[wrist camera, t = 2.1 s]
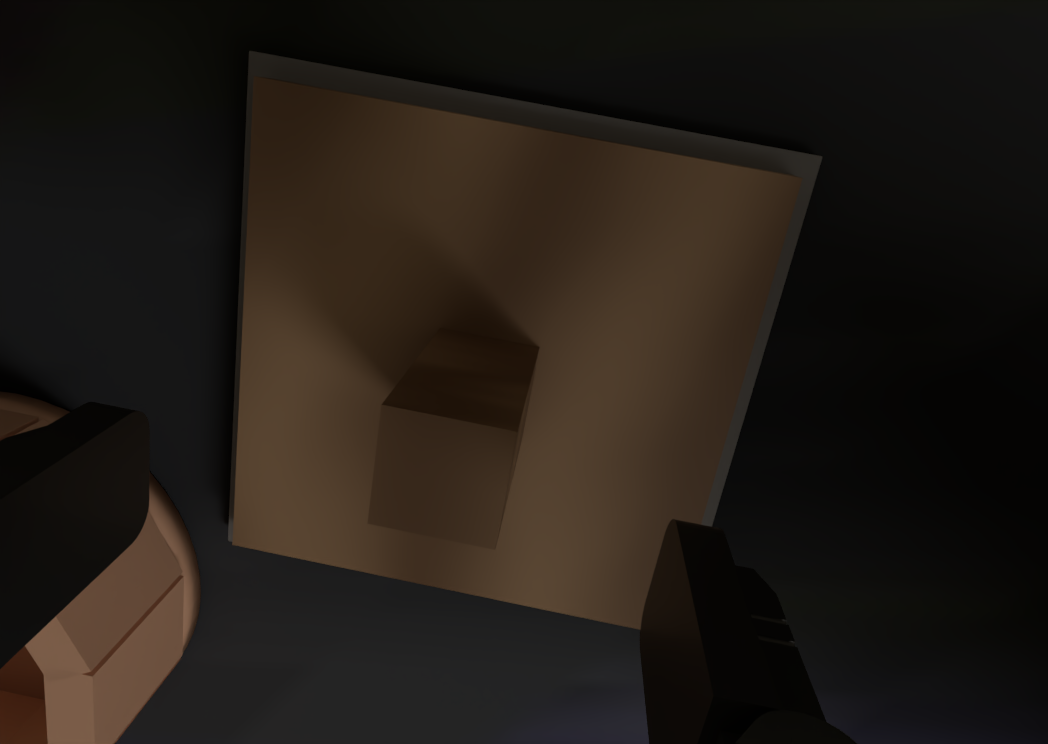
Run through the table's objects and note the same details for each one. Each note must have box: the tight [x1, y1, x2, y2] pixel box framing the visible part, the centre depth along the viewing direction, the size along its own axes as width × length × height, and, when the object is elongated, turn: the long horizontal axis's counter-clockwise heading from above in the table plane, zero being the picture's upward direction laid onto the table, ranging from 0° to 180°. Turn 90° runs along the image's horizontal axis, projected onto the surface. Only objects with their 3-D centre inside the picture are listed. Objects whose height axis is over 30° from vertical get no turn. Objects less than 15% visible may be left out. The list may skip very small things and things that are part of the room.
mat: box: [228, 51, 823, 542], centre depth 19 cm, size 13×13×1 cm
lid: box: [232, 76, 803, 630], centre depth 16 cm, size 12×12×6 cm
